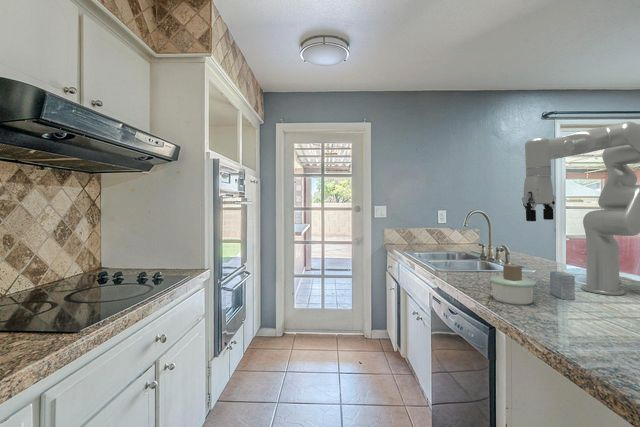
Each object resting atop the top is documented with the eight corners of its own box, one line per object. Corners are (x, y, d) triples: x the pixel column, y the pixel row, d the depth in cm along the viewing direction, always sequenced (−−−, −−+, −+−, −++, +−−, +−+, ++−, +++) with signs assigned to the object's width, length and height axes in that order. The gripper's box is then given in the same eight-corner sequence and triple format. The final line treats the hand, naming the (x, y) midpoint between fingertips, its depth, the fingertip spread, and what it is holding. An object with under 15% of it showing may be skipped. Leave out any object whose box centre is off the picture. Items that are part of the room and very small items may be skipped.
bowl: (507, 293, 120) (507, 278, 120) (540, 302, 109) (540, 284, 109) (485, 297, 116) (485, 281, 116) (517, 306, 105) (517, 288, 105)
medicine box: (575, 300, 112) (575, 275, 112) (561, 299, 113) (561, 275, 112) (563, 294, 119) (563, 271, 119) (549, 293, 120) (549, 271, 120)
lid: (507, 277, 122) (507, 261, 122) (545, 285, 109) (545, 267, 109) (481, 280, 116) (481, 264, 116) (518, 289, 103) (518, 270, 103)
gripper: (542, 174, 121) (544, 218, 122) (512, 174, 114) (513, 221, 115) (564, 171, 114) (565, 219, 115) (533, 171, 107) (535, 222, 108)
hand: (539, 220), depth 115 cm, fingers open, 9 cm apart
